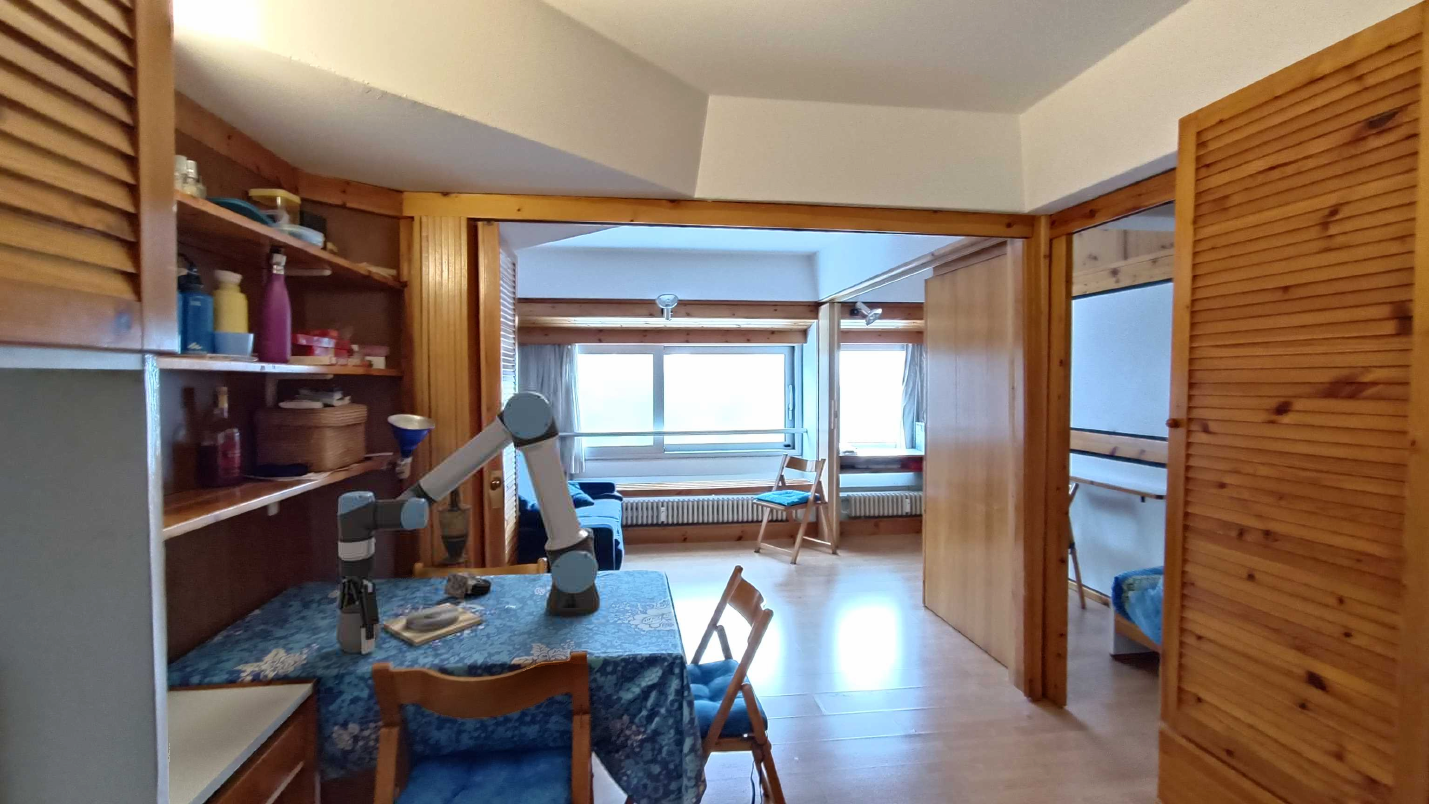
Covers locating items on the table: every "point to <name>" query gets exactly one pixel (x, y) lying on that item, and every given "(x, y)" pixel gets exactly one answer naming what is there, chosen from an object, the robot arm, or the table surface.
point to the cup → (352, 629)
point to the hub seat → (432, 623)
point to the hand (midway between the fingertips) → (359, 645)
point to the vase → (454, 527)
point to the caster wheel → (465, 585)
